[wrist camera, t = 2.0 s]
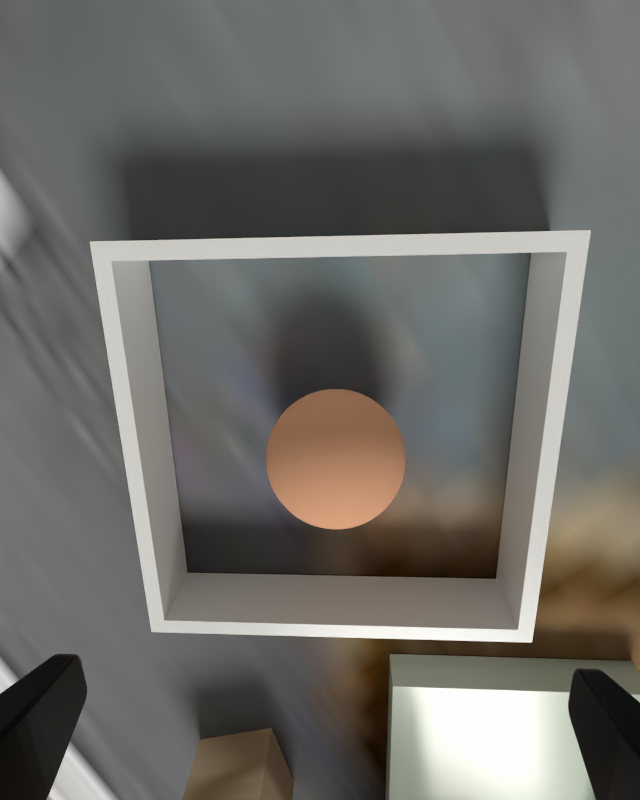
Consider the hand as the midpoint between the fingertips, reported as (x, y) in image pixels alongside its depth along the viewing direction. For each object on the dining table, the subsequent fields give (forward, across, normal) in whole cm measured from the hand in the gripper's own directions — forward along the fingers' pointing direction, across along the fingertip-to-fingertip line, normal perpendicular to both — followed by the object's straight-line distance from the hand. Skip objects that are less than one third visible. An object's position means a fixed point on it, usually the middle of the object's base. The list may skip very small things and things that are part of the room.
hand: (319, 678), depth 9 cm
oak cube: (+12, +5, +19) cm, 23 cm away
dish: (+12, -8, +17) cm, 22 cm away
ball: (+12, 0, 0) cm, 12 cm away
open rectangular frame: (+12, 0, 0) cm, 12 cm away
